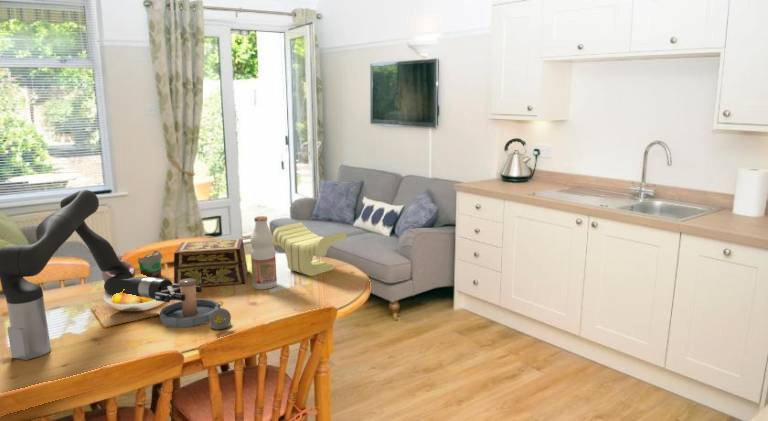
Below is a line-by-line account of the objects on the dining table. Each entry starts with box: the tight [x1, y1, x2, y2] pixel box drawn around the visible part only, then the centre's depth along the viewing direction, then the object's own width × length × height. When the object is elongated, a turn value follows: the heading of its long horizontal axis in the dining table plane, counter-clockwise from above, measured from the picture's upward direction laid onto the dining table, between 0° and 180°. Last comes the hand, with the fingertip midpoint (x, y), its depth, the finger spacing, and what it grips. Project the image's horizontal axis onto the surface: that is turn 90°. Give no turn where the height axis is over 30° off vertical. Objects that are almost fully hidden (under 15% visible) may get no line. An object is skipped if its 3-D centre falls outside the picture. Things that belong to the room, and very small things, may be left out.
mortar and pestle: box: [101, 259, 136, 283], centre depth 228 cm, size 12×12×11 cm
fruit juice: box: [250, 215, 278, 290], centre depth 225 cm, size 9×9×28 cm
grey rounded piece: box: [209, 301, 232, 330], centre depth 187 cm, size 8×8×10 cm
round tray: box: [159, 298, 219, 328], centre depth 198 cm, size 19×19×3 cm
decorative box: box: [173, 238, 248, 288], centre depth 236 cm, size 28×19×15 cm
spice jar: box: [179, 278, 198, 317], centre depth 197 cm, size 5×5×12 cm
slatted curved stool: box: [272, 221, 347, 277], centre depth 246 cm, size 30×16×18 cm, turn 47°
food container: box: [137, 250, 163, 278], centre depth 241 cm, size 12×6×10 cm, turn 168°
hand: (192, 293), depth 195 cm, fingers open, 8 cm apart
